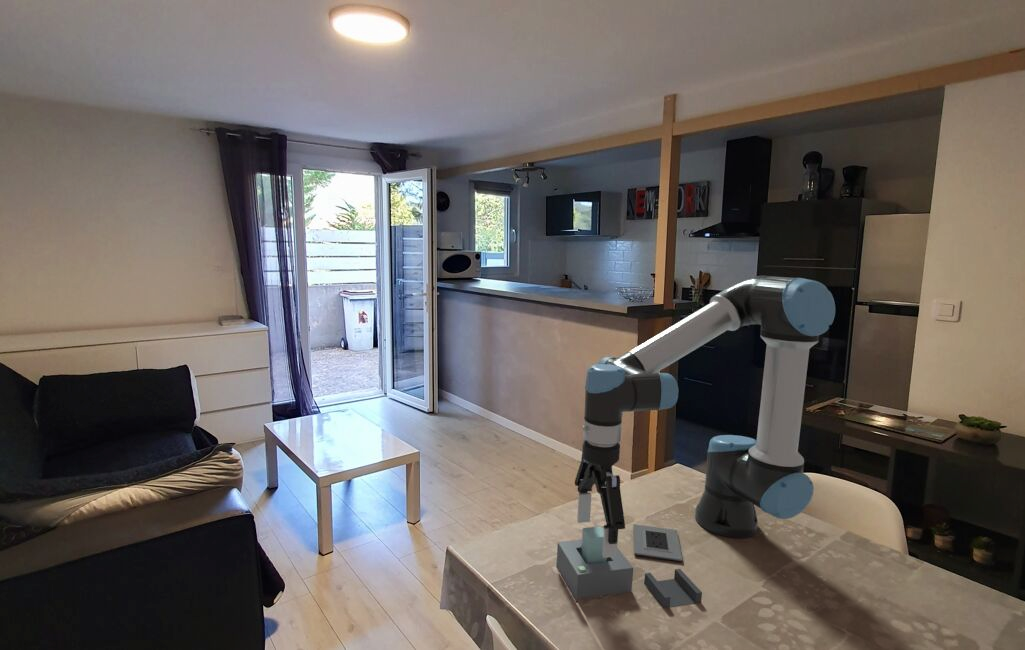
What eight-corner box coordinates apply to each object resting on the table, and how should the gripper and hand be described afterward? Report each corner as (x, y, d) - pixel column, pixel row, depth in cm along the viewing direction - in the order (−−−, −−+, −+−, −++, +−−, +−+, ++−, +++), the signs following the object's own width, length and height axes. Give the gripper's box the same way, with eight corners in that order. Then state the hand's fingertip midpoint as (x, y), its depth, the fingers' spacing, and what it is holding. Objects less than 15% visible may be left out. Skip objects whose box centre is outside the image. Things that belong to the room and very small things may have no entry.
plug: (597, 569, 116) (600, 526, 114) (605, 580, 112) (608, 536, 110) (579, 571, 115) (582, 528, 113) (587, 583, 111) (590, 538, 109)
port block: (606, 561, 121) (608, 534, 120) (631, 594, 109) (633, 565, 108) (556, 567, 118) (557, 540, 117) (576, 602, 106) (577, 572, 105)
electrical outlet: (681, 568, 120) (682, 558, 119) (633, 561, 122) (634, 551, 121) (676, 537, 133) (677, 528, 132) (632, 531, 135) (633, 523, 134)
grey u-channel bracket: (679, 581, 114) (680, 568, 114) (701, 606, 107) (702, 592, 106) (643, 586, 112) (644, 573, 112) (663, 611, 104) (664, 597, 104)
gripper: (563, 421, 120) (559, 510, 123) (610, 466, 96) (603, 575, 99) (594, 420, 122) (589, 507, 125) (648, 463, 98) (640, 570, 101)
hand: (595, 538), depth 112 cm, fingers open, 13 cm apart
